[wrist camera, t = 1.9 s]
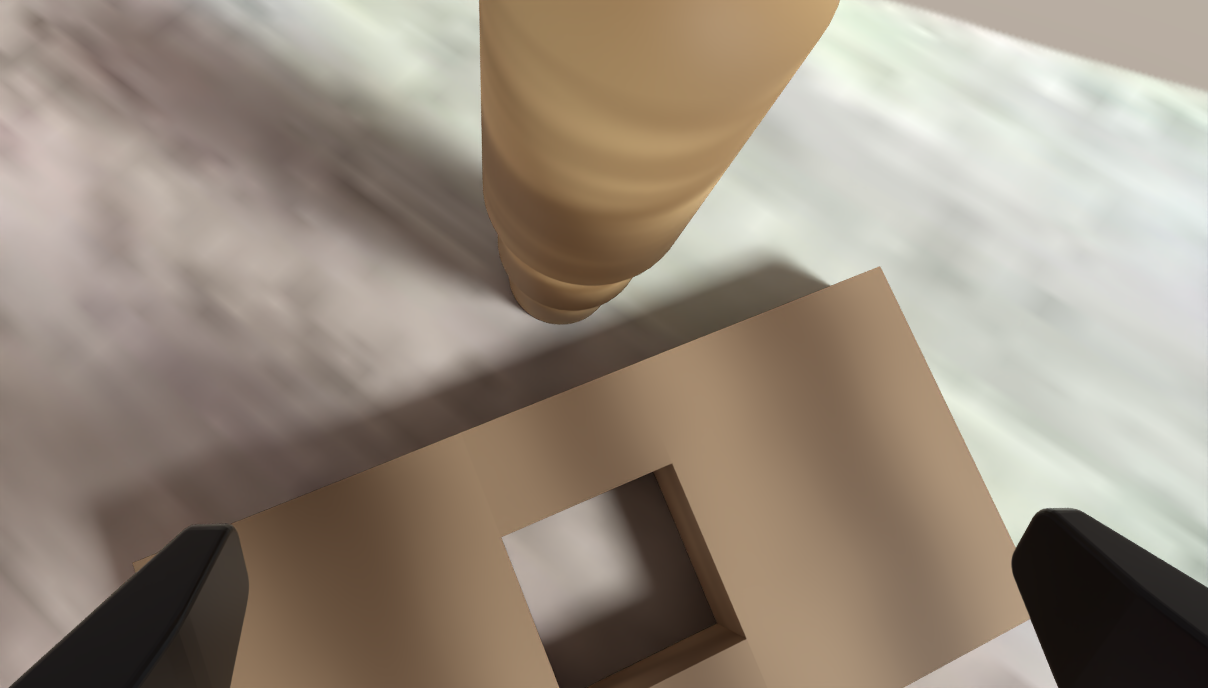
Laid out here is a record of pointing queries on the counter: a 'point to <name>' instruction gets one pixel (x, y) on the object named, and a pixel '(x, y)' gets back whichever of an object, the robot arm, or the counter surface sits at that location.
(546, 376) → the counter surface
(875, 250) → the counter surface
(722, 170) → the oak peg
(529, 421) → the wooden flat block
